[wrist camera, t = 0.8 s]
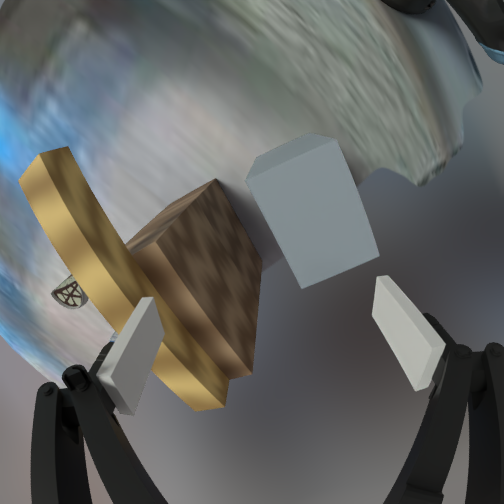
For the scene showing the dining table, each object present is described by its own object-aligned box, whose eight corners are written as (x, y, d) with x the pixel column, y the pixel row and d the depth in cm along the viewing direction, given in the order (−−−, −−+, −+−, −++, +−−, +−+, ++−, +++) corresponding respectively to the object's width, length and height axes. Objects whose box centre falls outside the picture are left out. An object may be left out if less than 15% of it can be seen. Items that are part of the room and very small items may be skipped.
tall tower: (170, 203, 50) (88, 280, 26) (215, 178, 48) (155, 241, 23) (218, 279, 57) (183, 389, 32) (262, 261, 54) (252, 374, 30)
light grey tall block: (256, 157, 46) (245, 180, 27) (309, 132, 43) (336, 139, 25) (291, 226, 51) (301, 289, 32) (341, 204, 48) (379, 255, 30)
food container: (84, 292, 62) (63, 315, 53) (71, 273, 60) (49, 294, 51) (114, 280, 59) (94, 305, 50) (101, 258, 57) (77, 280, 48)
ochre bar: (45, 170, 21) (18, 180, 17) (68, 146, 20) (38, 153, 16) (201, 385, 31) (195, 411, 28) (229, 379, 30) (225, 406, 27)
